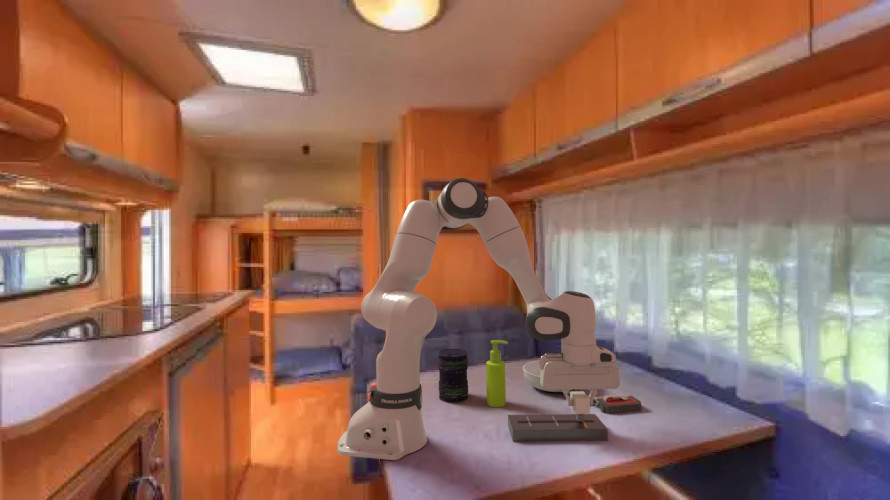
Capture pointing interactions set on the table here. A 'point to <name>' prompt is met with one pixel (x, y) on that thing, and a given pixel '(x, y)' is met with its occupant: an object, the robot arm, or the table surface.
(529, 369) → the serving bowl
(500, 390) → the soap dispenser
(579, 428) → the fader panel
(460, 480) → the table surface
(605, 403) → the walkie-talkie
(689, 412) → the table surface
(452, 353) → the black ridged cylinder
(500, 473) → the table surface
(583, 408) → the fader knob
